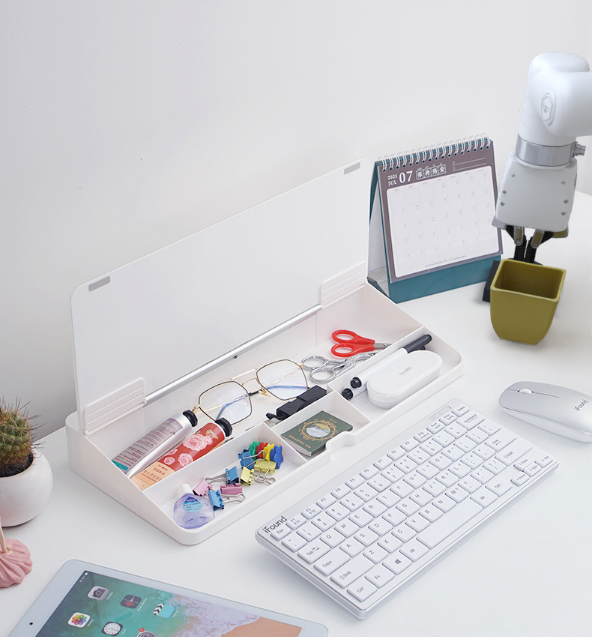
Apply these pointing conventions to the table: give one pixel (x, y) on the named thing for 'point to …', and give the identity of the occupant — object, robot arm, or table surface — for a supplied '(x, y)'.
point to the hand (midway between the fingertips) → (522, 266)
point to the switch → (491, 277)
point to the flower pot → (524, 300)
